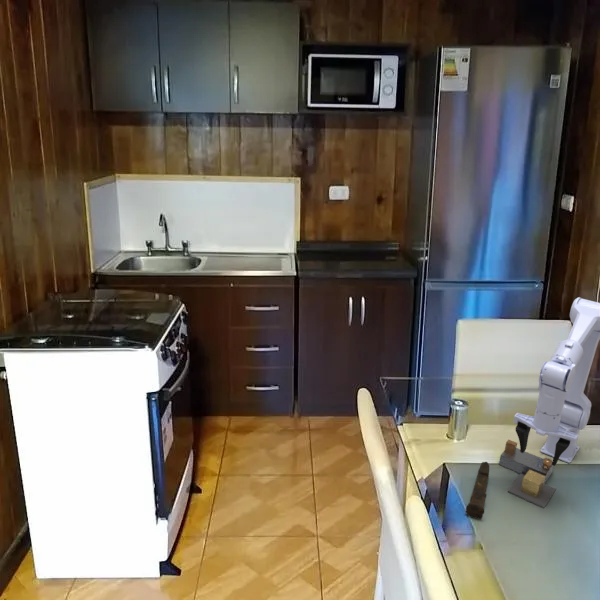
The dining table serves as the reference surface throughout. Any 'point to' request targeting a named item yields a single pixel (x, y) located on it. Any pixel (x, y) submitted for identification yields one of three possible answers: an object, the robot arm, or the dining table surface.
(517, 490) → the mat
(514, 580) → the dining table surface
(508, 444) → the body
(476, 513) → the hand tool
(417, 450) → the dining table surface
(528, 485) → the tan cube
